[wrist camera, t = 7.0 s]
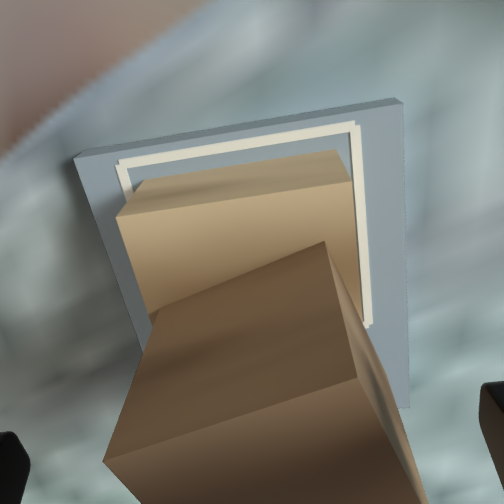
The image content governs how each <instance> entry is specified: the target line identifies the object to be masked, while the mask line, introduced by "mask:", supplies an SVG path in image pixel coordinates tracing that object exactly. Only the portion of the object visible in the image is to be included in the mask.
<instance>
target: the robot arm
mask: <svg viewBox="0 0 504 504" xmlns="http://www.w3.org/2000/svg"><path fill="white" fill-rule="evenodd" d="M479 423H480V427H481V430H482V433H483V436H484V438H485V441H486V444H487V446H488V449H489V452H490V454H491V457H492V460H493V463H494V465H495V468H496V471H497V473H498V476H499V479H500V481H501V484H502V487H503V489H504V381H498V382H488V383H484V384H483V385H482V386H481V390H480V403H479ZM30 466H31V464H30V458H29V456H28V454H27V452H26V450H25V449H24V447H23V445H22V444H21V442H20V440H19V439H18V437H17V435H16V434H15V433H13V432H11V431H7V432H0V504H21V500H22V497H23V493H24V490H25V486H26V483H27V479H28V476H29V472H30Z"/></svg>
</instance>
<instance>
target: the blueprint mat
mask: <svg viewBox="0 0 504 504" xmlns="http://www.w3.org/2000/svg"><path fill="white" fill-rule="evenodd" d="M332 149H336V150H337V152H338V154H339V156H340V158H341V160H342V162H343V164H344V166H345V168H346V170H347V172H348V174H349V176H350V178H351V180H352V188H353V201H354V214H355V227H356V240H357V253H358V266H359V279H360V292H361V305H362V318H363V325H364V327H365V329H366V331H367V334H368V336H369V338H370V340H371V342H372V344H373V347H374V349H375V351H376V353H377V355H378V357H379V359H380V362H381V364H382V366H383V368H384V370H385V372H386V375H387V377H388V380H389V384H390V387H391V390H392V393H393V396H394V399H395V402H396V405H397V408H409V407H410V394H409V347H408V301H407V254H406V207H405V160H404V114H403V103H402V102H401V101H399V100H398V99H396V98H390V99H384V100H378V101H372V102H366V103H360V104H354V105H349V106H343V107H337V108H331V109H325V110H319V111H313V112H307V113H302V114H296V115H290V116H284V117H278V118H272V119H266V120H260V121H255V122H249V123H243V124H237V125H231V126H225V127H219V128H214V129H208V130H202V131H196V132H190V133H184V134H178V135H172V136H167V137H161V138H155V139H149V140H143V141H137V142H131V143H125V144H120V145H114V146H108V147H102V148H96V149H90V150H85V151H83V152H82V153H81V154H79V155H78V156H77V157H75V158H74V159H73V160H74V162H75V165H76V168H77V171H78V174H79V176H80V179H81V182H82V185H83V188H84V190H85V193H86V196H87V199H88V201H89V204H90V207H91V210H92V213H93V215H94V218H95V221H96V224H97V226H98V229H99V232H100V235H101V238H102V240H103V243H104V246H105V249H106V252H107V254H108V257H109V260H110V263H111V265H112V268H113V271H114V274H115V277H116V279H117V282H118V285H119V288H120V290H121V293H122V296H123V299H124V302H125V304H126V307H127V310H128V313H129V316H130V318H131V321H132V324H133V327H134V329H135V332H136V335H137V338H138V341H139V343H140V346H141V349H142V352H144V349H145V347H146V344H147V341H148V339H149V336H150V333H151V331H152V328H153V327H152V324H151V321H150V318H149V315H148V312H147V309H146V306H145V303H144V300H143V297H142V294H141V291H140V288H139V285H138V282H137V280H136V277H135V274H134V271H133V268H132V265H131V262H130V259H129V256H128V253H127V250H126V247H125V244H124V241H123V238H122V235H121V232H120V229H119V226H118V223H117V220H116V216H117V215H118V213H119V212H120V211H121V209H122V208H123V207H124V205H125V204H126V203H127V202H128V200H129V199H130V198H131V196H132V195H133V194H134V192H135V191H136V190H137V188H138V187H139V186H140V184H141V183H142V182H143V181H144V180H145V179H151V178H157V177H164V176H170V175H176V174H182V173H189V172H195V171H201V170H207V169H214V168H220V167H226V166H232V165H238V164H245V163H251V162H257V161H263V160H270V159H276V158H282V157H288V156H295V155H301V154H307V153H313V152H320V151H326V150H332Z"/></svg>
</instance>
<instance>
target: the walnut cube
mask: <svg viewBox="0 0 504 504" xmlns="http://www.w3.org/2000/svg"><path fill="white" fill-rule="evenodd" d="M102 462H103V463H104V464H105V465H106V466H107V467H108V468H109V469H110V470H111V471H112V472H113V473H114V475H115V476H116V477H117V478H118V479H119V480H120V481H121V482H122V483H123V484H124V485H125V486H126V487H127V489H128V490H129V491H130V492H131V493H132V494H133V495H134V496H135V497H136V498H137V499H138V500H139V502H140V503H141V504H429V503H428V500H427V497H426V494H425V491H424V488H423V485H422V482H421V479H420V476H419V473H418V470H417V466H416V463H415V460H414V457H413V454H412V451H411V448H410V445H409V442H408V439H407V436H406V433H405V430H404V427H403V423H402V420H401V417H400V414H399V411H398V408H397V405H396V402H395V399H394V396H393V393H392V390H391V387H390V384H389V380H388V377H387V375H386V372H385V370H384V368H383V366H382V364H381V362H380V359H379V357H378V355H377V353H376V351H375V349H374V347H373V344H372V342H371V340H370V338H369V336H368V334H367V331H366V329H365V327H364V325H363V323H362V321H361V318H360V316H359V314H358V312H357V310H356V308H355V306H354V303H353V301H352V299H351V297H350V295H349V293H348V290H347V288H346V286H345V284H344V282H343V280H342V277H341V275H340V273H339V271H338V269H337V267H336V265H335V262H334V260H333V258H332V256H331V254H330V252H329V249H328V247H327V245H326V243H325V241H323V242H320V243H318V244H315V245H313V246H311V247H308V248H306V249H303V250H301V251H298V252H296V253H294V254H291V255H289V256H286V257H284V258H281V259H279V260H276V261H274V262H272V263H269V264H267V265H264V266H262V267H259V268H257V269H254V270H252V271H250V272H247V273H245V274H242V275H240V276H237V277H235V278H232V279H230V280H228V281H225V282H223V283H220V284H218V285H215V286H213V287H210V288H208V289H206V290H203V291H201V292H198V293H196V294H193V295H191V296H189V297H186V298H184V299H181V300H179V301H176V302H174V303H171V304H169V305H167V306H164V307H162V308H160V309H159V312H158V315H157V317H156V320H155V323H154V325H153V328H152V331H151V333H150V336H149V339H148V341H147V344H146V347H145V349H144V352H143V355H142V357H141V360H140V363H139V365H138V368H137V371H136V373H135V376H134V379H133V381H132V384H131V387H130V389H129V392H128V395H127V397H126V400H125V403H124V405H123V408H122V411H121V413H120V416H119V419H118V421H117V424H116V427H115V429H114V432H113V435H112V437H111V440H110V443H109V445H108V448H107V451H106V453H105V456H104V459H103V461H102Z"/></svg>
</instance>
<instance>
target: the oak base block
mask: <svg viewBox="0 0 504 504" xmlns="http://www.w3.org/2000/svg"><path fill="white" fill-rule="evenodd" d="M116 220H117V223H118V226H119V229H120V232H121V235H122V238H123V241H124V244H125V247H126V250H127V253H128V256H129V259H130V262H131V265H132V268H133V271H134V274H135V277H136V280H137V282H138V285H139V288H140V291H141V294H142V297H143V300H144V303H145V306H146V309H147V312H148V315H149V318H150V321H151V324H152V327H153V325H154V323H155V320H156V317H157V315H158V312H159V309H160V308H162V307H164V306H167V305H169V304H171V303H174V302H176V301H179V300H181V299H184V298H186V297H189V296H191V295H193V294H196V293H198V292H201V291H203V290H206V289H208V288H210V287H213V286H215V285H218V284H220V283H223V282H225V281H228V280H230V279H232V278H235V277H237V276H240V275H242V274H245V273H247V272H250V271H252V270H254V269H257V268H259V267H262V266H264V265H267V264H269V263H272V262H274V261H276V260H279V259H281V258H284V257H286V256H289V255H291V254H294V253H296V252H298V251H301V250H303V249H306V248H308V247H311V246H313V245H315V244H318V243H320V242H323V241H325V243H326V245H327V247H328V249H329V252H330V254H331V256H332V258H333V260H334V262H335V265H336V267H337V269H338V271H339V273H340V275H341V277H342V280H343V282H344V284H345V286H346V288H347V290H348V293H349V295H350V297H351V299H352V301H353V303H354V306H355V308H356V310H357V312H358V314H359V316H360V318H361V321H362V323H363V318H362V305H361V292H360V279H359V266H358V253H357V240H356V227H355V214H354V201H353V188H352V180H351V178H350V176H349V174H348V172H347V170H346V168H345V166H344V164H343V162H342V160H341V158H340V156H339V154H338V152H337V150H336V149H332V150H326V151H320V152H313V153H307V154H301V155H295V156H288V157H282V158H276V159H270V160H263V161H257V162H251V163H245V164H238V165H232V166H226V167H220V168H214V169H207V170H201V171H195V172H189V173H182V174H176V175H170V176H164V177H157V178H151V179H145V180H144V181H143V182H142V183H141V184H140V186H139V187H138V188H137V190H136V191H135V192H134V194H133V195H132V196H131V198H130V199H129V200H128V202H127V203H126V204H125V205H124V207H123V208H122V209H121V211H120V212H119V213H118V215H117V216H116Z"/></svg>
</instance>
